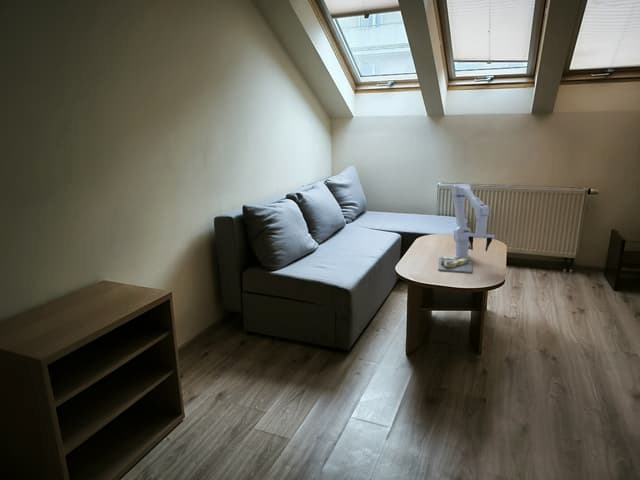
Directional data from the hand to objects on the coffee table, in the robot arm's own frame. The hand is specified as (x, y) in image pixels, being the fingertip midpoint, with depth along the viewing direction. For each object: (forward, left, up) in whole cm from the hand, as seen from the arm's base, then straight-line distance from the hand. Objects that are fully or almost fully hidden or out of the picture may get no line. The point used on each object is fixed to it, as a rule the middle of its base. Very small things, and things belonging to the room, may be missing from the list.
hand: (479, 250), depth 254 cm
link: (+4, -12, -8) cm, 15 cm away
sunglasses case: (-41, -6, -10) cm, 43 cm away
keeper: (+5, -17, -8) cm, 20 cm away
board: (+3, -12, -9) cm, 16 cm away
